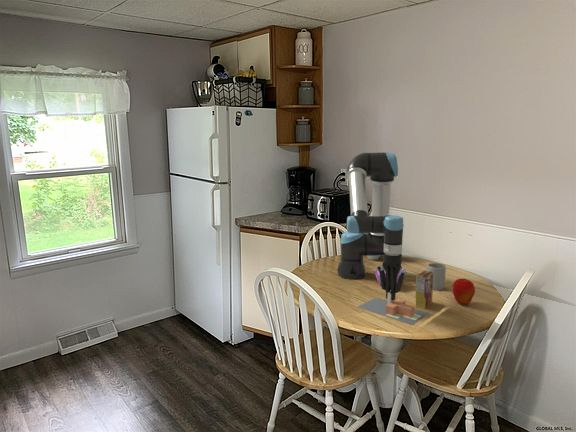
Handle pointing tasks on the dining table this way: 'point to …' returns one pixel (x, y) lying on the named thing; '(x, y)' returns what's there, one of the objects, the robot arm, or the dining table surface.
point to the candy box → (424, 289)
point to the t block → (400, 308)
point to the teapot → (385, 275)
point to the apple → (463, 291)
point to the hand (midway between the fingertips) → (390, 306)
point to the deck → (380, 308)
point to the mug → (437, 275)
